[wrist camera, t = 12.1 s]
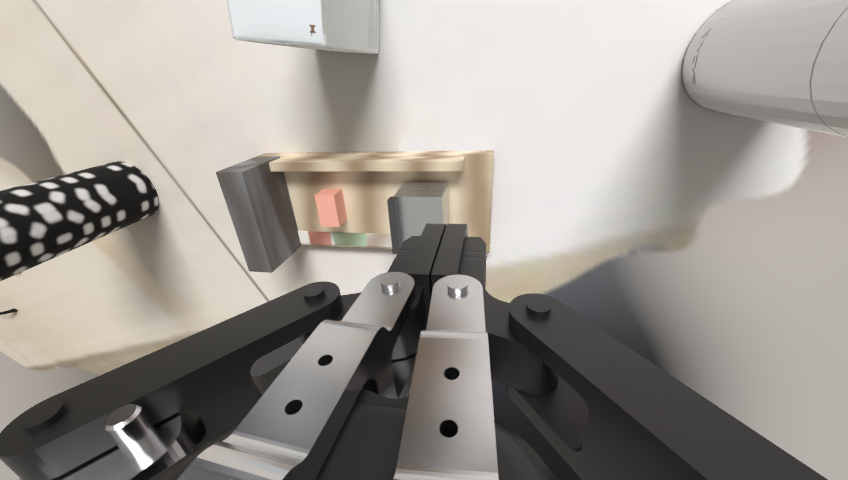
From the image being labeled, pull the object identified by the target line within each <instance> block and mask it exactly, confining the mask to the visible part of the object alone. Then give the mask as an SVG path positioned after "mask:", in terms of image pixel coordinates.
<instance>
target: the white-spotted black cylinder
mask: <svg viewBox="0 0 848 480" xmlns="http://www.w3.org/2000/svg"><path fill="white" fill-rule="evenodd" d="M157 208H158V195H157V193H156V190H155V188H154V186H153V184H152V183H151V181H150V180H149V179H148V178H147V177H146V175H145V174H144V173H142V172H141V171H140V170H139V169H137V168H136V167H134V166H132V165H130V164H128V163H125V162H112V163H109V164H105V165H101V166H97V167H93V168H89V169H85V170H81V171H77V172H73V173H69V174H65V175H61V176H57V177H54V178H49V179H45V180H41V181H37V182H33V183H29V184H25V185H21V186H17V187H13V188H9V189H5V190H1V191H0V281H2V280H4V279H6V278H9V277H11V276H13V275H16V274H18V273H20V272H22V271H25V270H27V269H29V268H32V267H34V266H36V265H39V264H41V263H43V262H45V261H48V260H50V259H52V258H55V257H57V256H59V255H61V254H64V253H66V252H68V251H71V250H73V249H75V248H78V247H80V246H82V245H84V244H87V243H89V242H91V241H94V240H96V239H98V238H100V237H103V236H105V235H107V234H110V233H112V232H114V231H117V230H119V229H121V228H123V227H126V226H128V225H130V224H133V223H135V222H137V221H140V220H142V219H144V218H146V217H149V216H151V215H153V214H154V213H155V212H156V211H157Z"/></svg>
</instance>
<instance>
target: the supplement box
mask: <svg viewBox="0 0 848 480" xmlns="http://www.w3.org/2000/svg"><path fill="white" fill-rule="evenodd" d="M227 1H228V8H229V15H230V21H231V28H232V35H233V38H234V39H237V40H242V41H249V42H256V43H265V44H273V45H282V46H290V47H299V48H308V49H318V50H327V51H336V52H348V53H368V54H378V53H379V0H227Z"/></svg>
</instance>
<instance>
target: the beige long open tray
mask: <svg viewBox="0 0 848 480" xmlns="http://www.w3.org/2000/svg"><path fill="white" fill-rule="evenodd" d="M492 172H493V151H426V152H347V153H267V154H262V155H260V156H257V157H255V158H252V159H249V160H247V161H244V162H241V163H239V164H236V165H234V166H231V167H228V168H226V169H223V170H221V171H218V172H216V174H217V177H218V180H219V183H220V186H221V189H222V192H223V195H224V198H225V201H226V204H227V207H228V210H229V213H230V216H231V218H232V221H233V224H234V227H235V230H236V233H237V236H238V239H239V242H240V245H241V248H242V251H243V254H244V257H245V260H246V263H247V266H248V269H249V271H255V272H271V273H272V272H273V271H274V270H275V269H276V268H277V267H278V266H280V265H281V264H282V263H283V262H284V261H285V260H286V259H287V258H288V257H289V256H290V255H291V254H292V253H293V252H295V251H296V250H297V249H298V248H299V247H300V246H301V245H318V246H341V247H365V248H388V249H392V242H391V233H390V223H389V214H388V205H387V200H388V199H389V198H390V197H393V196H394V195H395V194H396V192H397V191H398V190H399V188H400V187H401V186H402V184H403V183H404V182H448V205H449V224H467V229H468V237H481V238H482V239H483V241H484V242H485V243H486V253H489V244H490V220H491V196H492ZM322 189H342V192H343V198H344V203H345V209H346V215H347V220H346V221H345V222H344V223H343V224H342V225H341V226H340V227H323V226H321V224H320V219H319V214H318V210H317V205H316V200H315V194H317V193H318V192H320V191H321V190H322Z"/></svg>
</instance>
